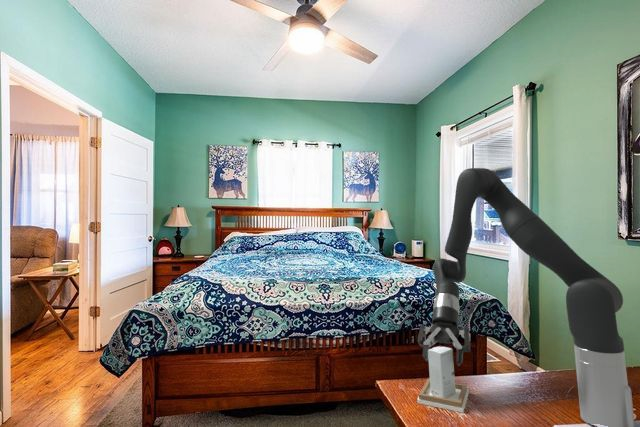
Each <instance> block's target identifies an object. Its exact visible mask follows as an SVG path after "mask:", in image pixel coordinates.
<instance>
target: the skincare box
mask: <svg viewBox="0 0 640 427" xmlns="http://www.w3.org/2000/svg"><path fill="white" fill-rule="evenodd" d="M453 352H454V350H453V348H451V347H447V346H443V345H438V346H434V347H432V348H429V350H428V372H429V374H428V375H429V378H430V389H431V394H432V395H434V396H437V397H442V398H447V397H449V396H451V395H453V394H455V393H456V389H455V383H456V379H455V376H456V375H455V367H454V366H455V365H454V353H453Z"/></svg>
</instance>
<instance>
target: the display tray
mask: <svg viewBox="0 0 640 427" xmlns="http://www.w3.org/2000/svg"><path fill="white" fill-rule="evenodd" d="M455 389H456V393H455V394H453V395H451V396H449V397H447V398H442V397H437V396H434V395H432V394H431V389H430V377H428V378H427V379H426V381H425V383H424V385H423V386H422V389H421V390H420V391H419V393H418V396H417V404H420V405H426V406H429V407H435V408H439V409H445V410H449V411H454V412H457V413H458V412H459V413H462V414H463V413H464V411H465V407H466V404H467V402H468V398H469V393H470V391H469V388H467V384H464V383H460V382H459V383H457V382H455Z"/></svg>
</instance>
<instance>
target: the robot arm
mask: <svg viewBox="0 0 640 427" xmlns="http://www.w3.org/2000/svg"><path fill="white" fill-rule="evenodd" d="M455 186H456V188H455V195H454V204H453V212H452V218H451V219H452V221H451V225H450V229H449V232H448V235H447V239H446V242H445V246H444V252H445V253H446V254H447V255H448V256H450V257H452V258H454V259H456V260H457V261H454V260H451V259H446V258H443V257H441V258H438V259H436V260H435V261H434V263H433V266H432V267H433V269H432V271H433V276H434V279H435V284H436V291H435V299H434V303H433V310H432V320H431V325H430V326H425V324H421V325H420V326H419V332H418V336H417V342H418V345H419V346H420V347H422V357H423V359H424V360H425V362H429V359H428V350H429V349H431V347H432V346H435V345H436V344H437V343H438V344H446V345H450V344H452V345H453V346H454V348H456V354H455V355H456V357H455V360H456V361H455V363H456V366H458V367H460V366H461V365H463V363H464V362H463V361H464V353H471V335H470V331H469V330H470V329H469V328H464V329H459V324H460V323H459V320H460V287H459V285H458V284H460V283H462V282H463V281H464V280H465V279H466V275H467V267H466V266H467V265H466V263H467V254H468V250H469V247H470V244H471V241H472V238H473V225H472V224H473V223H472V213H473V212H472V211H473V208H474V204H475V203H476V201H477V199H478V198H480V199H482V200H484V201H485V202H486V203H487V204H488V205H489V206H490V207H491V208H492V209H493V210H495V212H496V214H497V215H498V217H499V218H498V219H499V220H500V223H501V225H502V227H503V228H502V229H504V232H505V234H506V235H507V236H508V237H509V239H511V241H512V242H513V243H514V244H515V245H516V246H517V247H518V248H519V249H520V250H521V251H523V252H524V253H525V254H526V255H527V256H529V257H530V258H531V259H533V260H534V261H536V262H538V263H539V264H541V265H543V266H544V267H546V268H547V269H549V270H550V271H551V272H553V273H555V275H557V277H559V279H561V281H563V283H564V284H565V285H566V286H567V287H568V288H567V290H566V293H565V294H566V295H565V304H566V313H567V322H568V328H569V332H570V334H571V336H572V338H573V345H574V346H573V347H574V348H573V349H574V359H575V370H576V381H577V382H576V383H577V391H578V392H577V393H578V402H579V411H580V412H579V413H580V418H581V420H583V422H585V423H586V424H588V423H591V424H600V425H604V426H608V427H635V426H636V425H635V417H634V416H635V415H634V407H633V405H634V404H633V396H632V389H631V387H630V386H629V382H628V375H627V364H626V356H625V354H626V353H625V344H624V339H623V338H622V337H621V336H620V334H619V330H618V323H617V315H616V313H618V312H619V311H620V310H621V309H622V307H623V305H624V304H623V303H624V298H623V294H622V292H621V290H620V288H618V286H617V285H616V284H615V283H614V282H613V281H611V280H610V279H609V278H607V277H606V276H605V275H604V274H602V273H601V272H599V271H598V270H597V269H595V268H594V267H593V266H592V265H591V264H589V263H588V262H586V261H585V260H584V259H583V258H582V257H581V256H580V255H578V253H576V251H575V250H574V249H573V248H571V246H570V245H569V244H568V243H567V242H566V241H564V239H562V238H561V237H560V236H559V234H558V233H556V232H555V231H554V229H552V228H551V227H550V225H548V224H547V223H546V222H545V221H544V220H543V219H542V218H541V217H539V216H538V215H537V214H536V213H535V212H534V211H532V210H531V209H530V207H529V206H527V205H526V204H525V203H524V201H521V200H520V199H519V198H518V197H517V196H516V195H515V194H514V193H513V192H512V191H511V190H510V189H509V188H508V186H507V185H506V184H505V183H504V182H503V181H502V179H501V178H500V177H499V176H498V175H497V174H496V173H495V172H494V171H493V170H491V169H489V168H484V167H483V168H482V167H469V168H467V169H464V170H463V171H461V173H460V174H459V176H458V177H457V181H456V185H455ZM457 283H458V284H457ZM428 333H430V335H428ZM426 335H428V336H427V339H425V338H426ZM460 335H461V338H463V339H464V345H461V343H460V342H459V340H458V337H459V336H460Z"/></svg>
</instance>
